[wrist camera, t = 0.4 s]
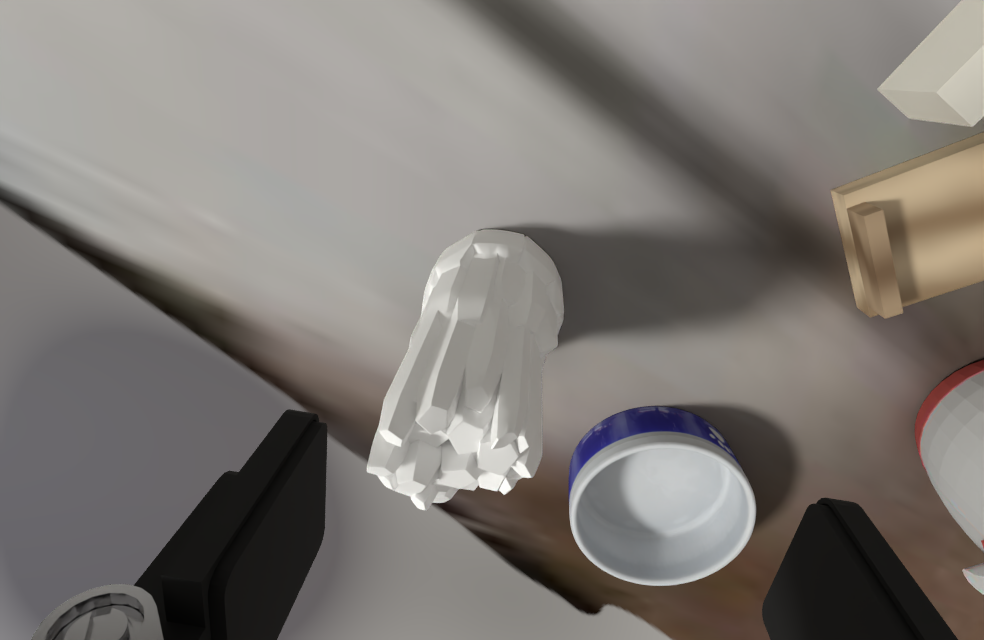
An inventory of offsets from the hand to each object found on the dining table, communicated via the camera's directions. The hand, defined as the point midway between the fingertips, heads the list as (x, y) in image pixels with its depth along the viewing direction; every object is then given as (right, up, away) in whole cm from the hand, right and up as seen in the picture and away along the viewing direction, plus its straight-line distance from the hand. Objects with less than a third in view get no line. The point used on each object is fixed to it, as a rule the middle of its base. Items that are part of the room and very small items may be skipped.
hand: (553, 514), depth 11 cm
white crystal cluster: (-1, +6, +36) cm, 37 cm away
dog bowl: (+13, -10, +43) cm, 46 cm away
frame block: (+28, +21, +27) cm, 45 cm away
